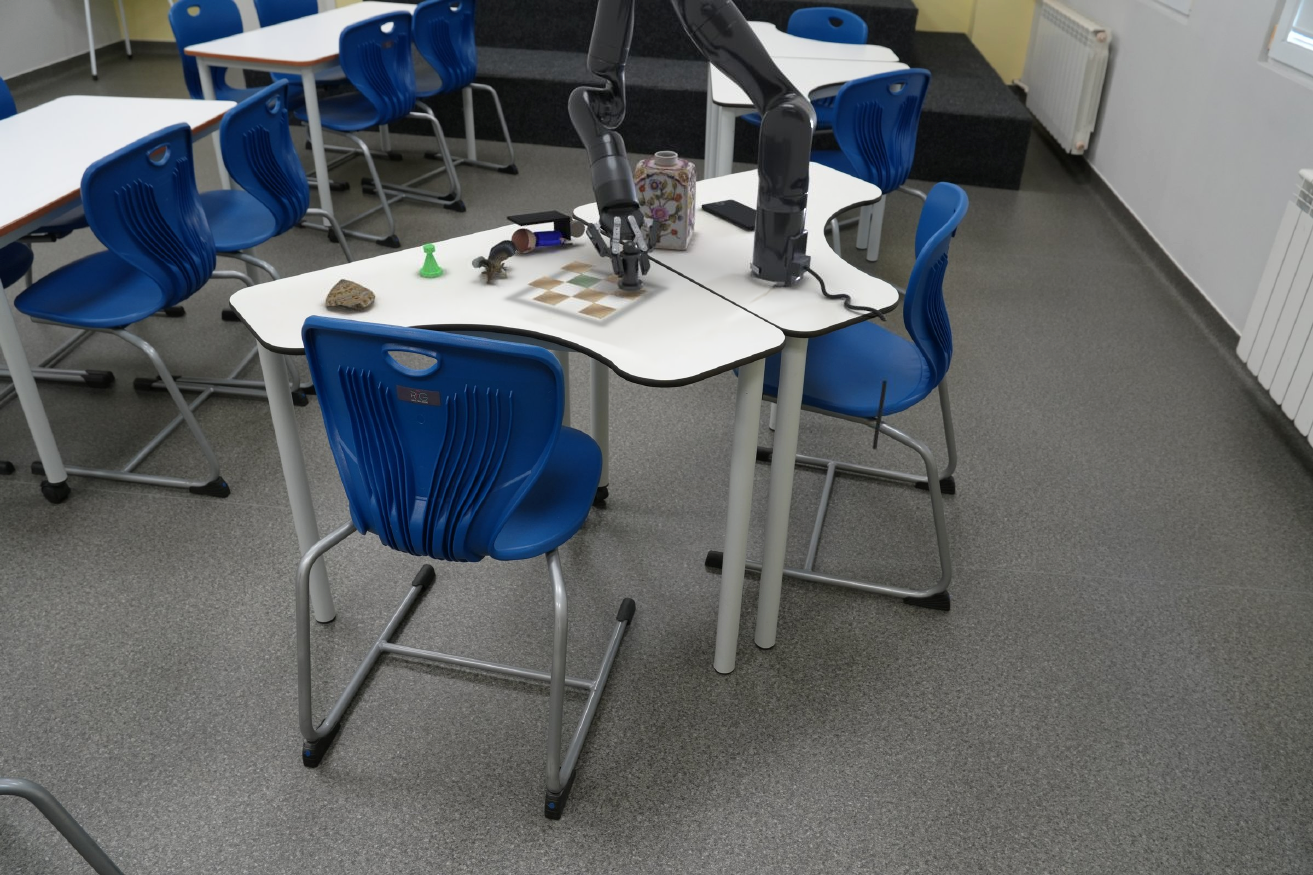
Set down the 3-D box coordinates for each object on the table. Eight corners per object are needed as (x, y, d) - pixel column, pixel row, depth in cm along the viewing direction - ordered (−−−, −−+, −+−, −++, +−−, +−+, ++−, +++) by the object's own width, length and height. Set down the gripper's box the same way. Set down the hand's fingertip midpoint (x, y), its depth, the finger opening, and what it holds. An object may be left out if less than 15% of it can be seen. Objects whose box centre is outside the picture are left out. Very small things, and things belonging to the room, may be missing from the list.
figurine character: (567, 243, 206) (504, 248, 197) (570, 207, 202) (505, 211, 194) (584, 252, 201) (520, 258, 193) (587, 216, 198) (522, 220, 189)
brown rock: (352, 306, 166) (319, 280, 167) (347, 331, 169) (315, 305, 171) (387, 291, 172) (355, 265, 173) (382, 315, 175) (350, 290, 177)
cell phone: (731, 203, 228) (731, 199, 227) (780, 224, 215) (780, 220, 214) (700, 208, 223) (700, 204, 223) (748, 231, 211) (748, 227, 210)
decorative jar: (695, 233, 209) (699, 148, 200) (687, 251, 199) (690, 163, 190) (640, 228, 211) (641, 144, 201) (629, 246, 201) (630, 159, 192)
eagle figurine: (517, 280, 181) (526, 255, 187) (493, 250, 177) (503, 226, 184) (486, 297, 184) (495, 272, 190) (461, 268, 180) (472, 244, 187)
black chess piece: (647, 285, 177) (648, 240, 173) (633, 293, 174) (633, 247, 169) (626, 279, 179) (626, 235, 175) (612, 287, 176) (611, 242, 171)
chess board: (662, 288, 182) (662, 282, 181) (601, 324, 167) (601, 318, 166) (575, 266, 191) (575, 260, 190) (510, 298, 176) (509, 292, 175)
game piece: (415, 273, 185) (412, 243, 182) (434, 267, 188) (431, 237, 185) (428, 279, 183) (425, 248, 180) (447, 273, 186) (444, 243, 183)
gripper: (579, 180, 171) (598, 270, 168) (656, 174, 175) (676, 262, 171) (573, 201, 178) (591, 287, 175) (647, 195, 182) (666, 279, 179)
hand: (633, 274), depth 173 cm, fingers closed on black chess piece, 3 cm apart
